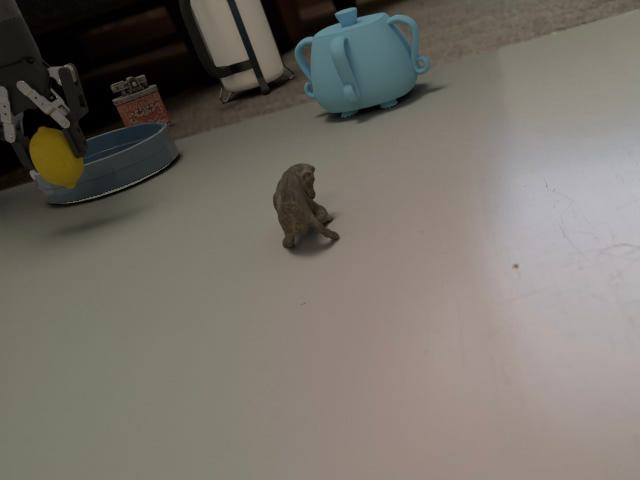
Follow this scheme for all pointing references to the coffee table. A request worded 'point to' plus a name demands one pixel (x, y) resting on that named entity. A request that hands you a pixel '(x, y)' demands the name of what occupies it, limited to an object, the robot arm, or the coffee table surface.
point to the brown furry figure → (299, 204)
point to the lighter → (140, 102)
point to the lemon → (55, 157)
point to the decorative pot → (361, 62)
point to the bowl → (115, 162)
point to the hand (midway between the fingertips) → (58, 161)
